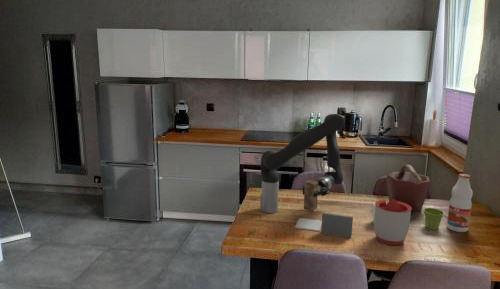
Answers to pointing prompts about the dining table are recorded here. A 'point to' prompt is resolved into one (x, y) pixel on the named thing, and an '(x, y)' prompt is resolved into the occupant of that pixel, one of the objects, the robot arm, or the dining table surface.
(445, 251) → the dining table surface
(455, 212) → the fruit juice
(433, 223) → the plant pot
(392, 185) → the bucket
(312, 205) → the walnut block
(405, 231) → the citrus juicer
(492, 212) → the dining table surface
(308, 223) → the grey pad
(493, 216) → the dining table surface
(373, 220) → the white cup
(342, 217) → the charcoal board
